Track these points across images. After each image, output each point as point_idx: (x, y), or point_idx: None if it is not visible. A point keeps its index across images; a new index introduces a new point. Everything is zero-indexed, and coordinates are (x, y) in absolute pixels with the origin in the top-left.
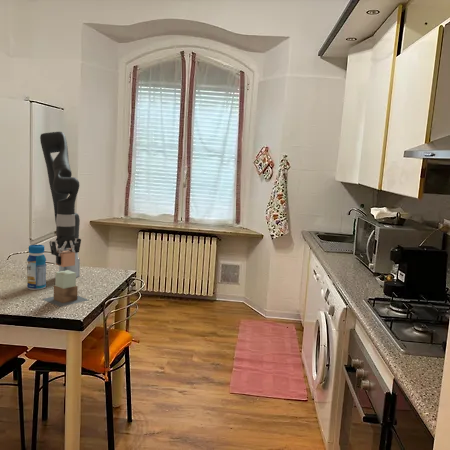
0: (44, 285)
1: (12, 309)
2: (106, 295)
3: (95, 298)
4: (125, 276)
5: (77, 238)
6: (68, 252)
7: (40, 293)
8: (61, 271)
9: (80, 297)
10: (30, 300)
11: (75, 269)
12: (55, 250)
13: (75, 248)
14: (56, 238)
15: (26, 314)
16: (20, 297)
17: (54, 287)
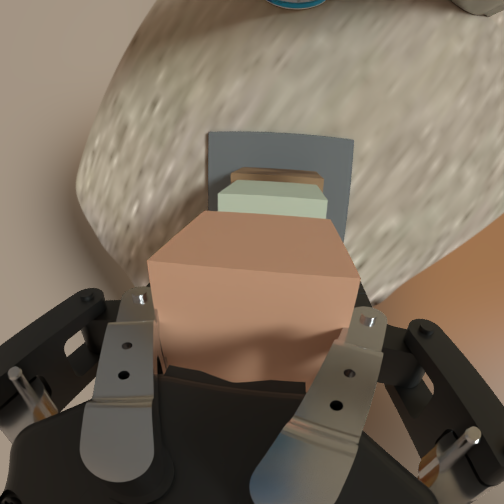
0: (312, 3)
1: (95, 170)
2: (422, 265)
3: (373, 265)
4: None
5: (491, 487)
6: (269, 377)
7: (259, 48)
8: (264, 204)
9: (339, 225)
10: (176, 109)
11: (490, 4)
12: (79, 377)
13: (431, 359)
14: (9, 471)
15: (108, 241)
16: (172, 54)
17: (232, 179)
